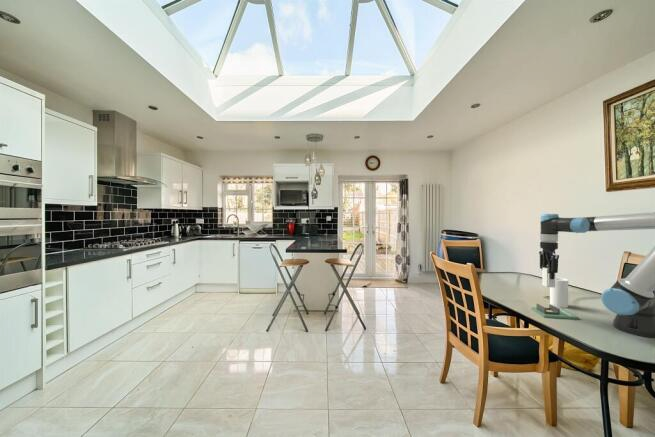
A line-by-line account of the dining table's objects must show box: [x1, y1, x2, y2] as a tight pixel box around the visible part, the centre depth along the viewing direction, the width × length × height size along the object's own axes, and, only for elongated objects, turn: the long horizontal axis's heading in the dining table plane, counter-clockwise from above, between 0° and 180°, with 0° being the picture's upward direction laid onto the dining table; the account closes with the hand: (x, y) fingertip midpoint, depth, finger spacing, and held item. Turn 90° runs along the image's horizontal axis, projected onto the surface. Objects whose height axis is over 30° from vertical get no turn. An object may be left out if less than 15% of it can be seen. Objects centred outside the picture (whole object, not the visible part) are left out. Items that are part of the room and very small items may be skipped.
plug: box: [541, 265, 556, 288], centre depth 145 cm, size 4×4×12 cm
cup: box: [549, 276, 569, 309], centre depth 157 cm, size 8×8×16 cm
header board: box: [531, 303, 580, 320], centre depth 144 cm, size 12×16×4 cm
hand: (548, 283), depth 145 cm, fingers closed on plug, 4 cm apart
